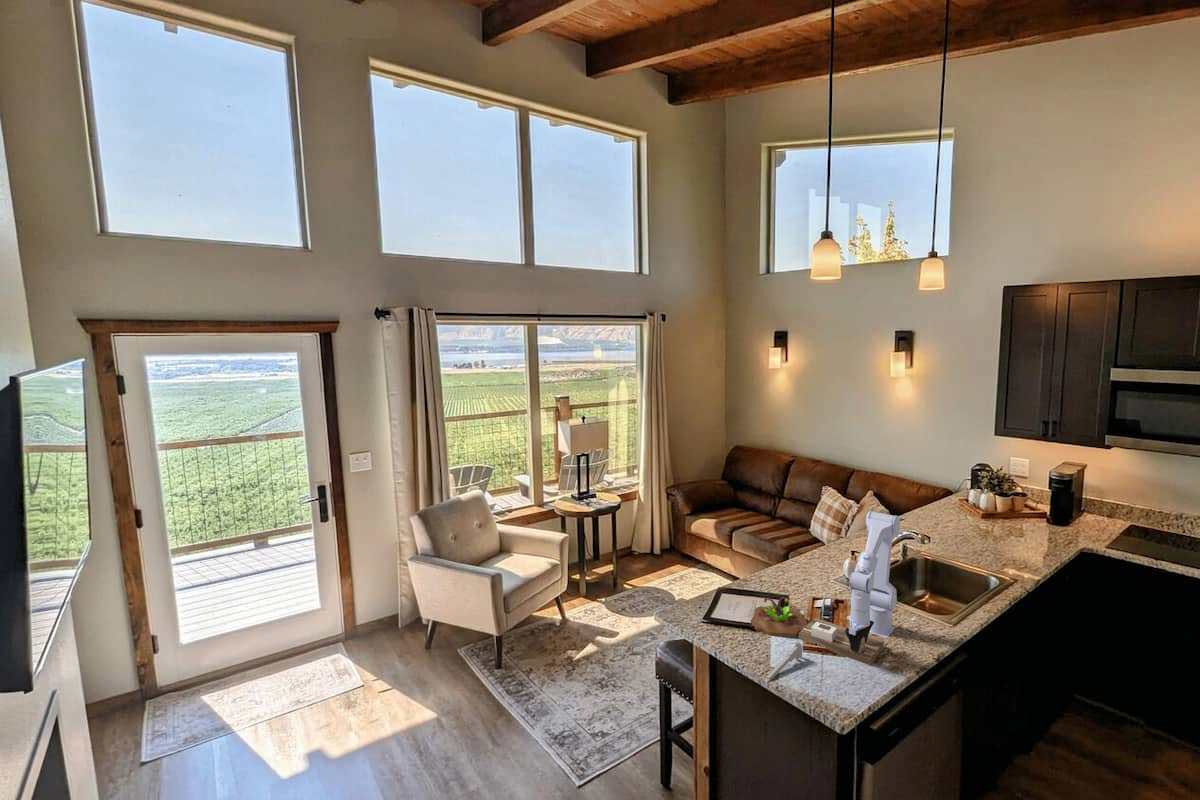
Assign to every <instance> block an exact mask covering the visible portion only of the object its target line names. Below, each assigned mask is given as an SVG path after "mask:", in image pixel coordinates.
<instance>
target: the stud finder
mask: <svg viewBox="0 0 1200 800" xmlns="http://www.w3.org/2000/svg"><path fill="white" fill-rule="evenodd" d="M811 636H814V637H817V638H820V639H823V640H826V641H829V642H832V641H833V640H834V639H835V638H836V636H837V628H835V627H832V626H829V625H826V624H823V623H819V622H816V623H815V624H814V625H813V626H812V627H811Z"/></svg>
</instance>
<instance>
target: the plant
mask: <svg viewBox="0 0 1200 800" xmlns="http://www.w3.org/2000/svg"><path fill="white" fill-rule="evenodd" d="M767 600H768V601H770V602H771V604H770V605H767V606H763V605H762V606H757V607H755V608H754V610H753V615H752V618H751V619H750V624H751V623H752V625H753V626H754V627H755V628H754V630H755V629H756V630H757V632H761V633H765V634H766V635H767V636H772V637H780V638H787V639H796V638H799V632H800V631H801V630H802V629H803V628H804V627H805V626H807V625H808V624H809V622H808V621H807V620H806V616H805V614H803V613H801V612H798V611H796V610H793V609H791V608H790V606H783V607H781V606H782V605H781V602H782V600H784V602H786V603H788V602H789V598H788V597H785V596H781V597H780V598H779V599H778V601H777V604H776V602H775V601H774V600H773V599H771V598H768V597H767V598H763V600H762V601H763V603H767ZM752 625H751V626H752ZM756 630H755V631H756Z"/></svg>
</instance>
